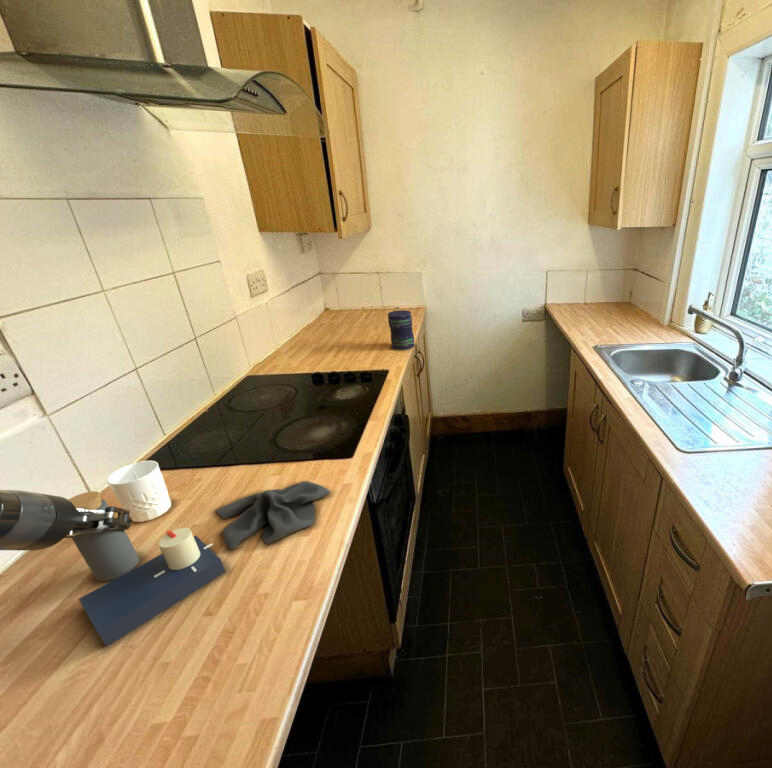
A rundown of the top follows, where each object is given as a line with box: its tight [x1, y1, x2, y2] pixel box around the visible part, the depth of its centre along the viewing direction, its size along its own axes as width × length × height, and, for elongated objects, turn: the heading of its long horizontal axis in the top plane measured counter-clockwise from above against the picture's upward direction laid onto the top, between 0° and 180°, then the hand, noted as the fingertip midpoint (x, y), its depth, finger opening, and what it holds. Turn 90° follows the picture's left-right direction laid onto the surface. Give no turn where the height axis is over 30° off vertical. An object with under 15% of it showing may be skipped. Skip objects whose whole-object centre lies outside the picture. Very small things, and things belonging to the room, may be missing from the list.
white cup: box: [106, 460, 172, 523], centre depth 85 cm, size 8×8×10 cm
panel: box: [78, 535, 226, 647], centre depth 69 cm, size 17×10×3 cm, turn 145°
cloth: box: [216, 480, 331, 551], centre depth 84 cm, size 22×19×6 cm
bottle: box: [68, 490, 140, 582], centre depth 70 cm, size 6×6×15 cm
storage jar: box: [387, 306, 415, 351], centre depth 179 cm, size 10×10×18 cm
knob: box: [157, 527, 200, 570], centre depth 70 cm, size 4×4×5 cm
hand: (105, 527), depth 72 cm, fingers closed on bottle, 6 cm apart
